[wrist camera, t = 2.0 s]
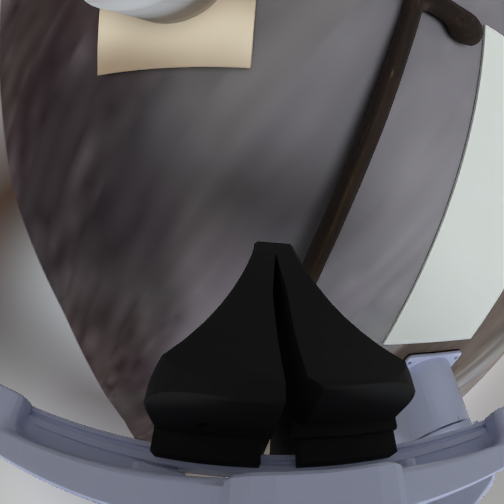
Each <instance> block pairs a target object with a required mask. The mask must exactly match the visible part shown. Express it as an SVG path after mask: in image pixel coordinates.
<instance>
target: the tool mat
mask: <svg viewBox="0 0 504 504" xmlns="http://www.w3.org/2000/svg"><path fill="white" fill-rule="evenodd" d="M503 289H504V36H502V35H501V34H499V33H498V32H496V31H495V30H493V29H492V28H490V27H488V26H487V25H484V33H483V47H482V57H481V66H480V74H479V81H478V87H477V94H476V99H475V105H474V110H473V115H472V120H471V124H470V129H469V133H468V137H467V141H466V145H465V149H464V153H463V156H462V160H461V163H460V167H459V170H458V174H457V177H456V180H455V183H454V186H453V190H452V193H451V196H450V198H449V201H448V204H447V207H446V210H445V213H444V215H443V218H442V221H441V223H440V226H439V229H438V231H437V234H436V236H435V239H434V241H433V243H432V246H431V248H430V251H429V253H428V255H427V258H426V260H425V262H424V264H423V267H422V269H421V271H420V273H419V275H418V277H417V280H416V282H415V284H414V286H413V288H412V290H411V292H410V294H409V296H408V298H407V300H406V302H405V304H404V306H403V308H402V310H401V311H400V313H399V315H398V317H397V319H396V321H395V323H394V324H393V326H392V328H391V330H390V332H389V333H388V335H387V337H386V339H385V340H384V342H383V345H389V344H411V343H427V342H440V341H451V340H462V339H470V338H471V337H472V336H473V334H474V333H475V332H476V330H477V329H478V327H479V326H480V325H481V323H482V322H483V320H484V319H485V317H486V316H487V314H488V313H489V311H490V310H491V308H492V307H493V305H494V304H495V302H496V300H497V299H498V297H499V296H500V294H501V292H502V291H503Z"/></svg>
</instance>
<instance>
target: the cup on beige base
mask: <svg viewBox="0 0 504 504" xmlns="http://www.w3.org/2000/svg"><path fill="white" fill-rule="evenodd" d="M84 1H86V2H87V3H89V4H90V5H92V6H95V7H97V8H100V15H99V31H98V75H102V74H109V73H116V72H124V71H133V70H143V69H156V68H173V67H238V68H251V65H252V53H253V41H254V29H255V17H256V5H257V0H84Z"/></svg>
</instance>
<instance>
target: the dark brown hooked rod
mask: <svg viewBox="0 0 504 504" xmlns="http://www.w3.org/2000/svg"><path fill="white" fill-rule="evenodd" d="M424 11H427V12H429V13H431V14H433V15H435V16H436V17H438V18H439V19H441V20H442V21H443V22H445V24H446V26H447V28H448V31H449V32H450V34H451V35H452V36H453V38H454V39H455V40H457V41H458V42H460V43H462V44H465V45H469V46H473V45H476V44H477V43H478V42H480V40H481V38H482V35H483V29H482V25H481V23H480V22H479V20H478V19H477V18H476V17H475V16H474V15H473V14H472V13H470V12H469V11H467V10H466V9H464V8H463V7H461V6H459V5H458V4H456V3H455V2H453V1H452V0H405V1H404V5H403V9H402V13H401V16H400V19H399V22H398V25H397V28H396V31H395V34H394V37H393V40H392V43H391V46H390V49H389V52H388V55H387V57H386V60H385V64H384V66H383V69H382V72H381V75H380V78H379V80H378V83H377V86H376V88H375V91H374V94H373V96H372V98H371V102H370V104H369V107H368V110H367V112H366V115H365V117H364V120H363V122H362V125H361V127H360V130H359V132H358V135H357V137H356V139H355V142H354V145H353V147H352V149H351V152H350V154H349V157H348V159H347V162H346V164H345V166H344V169H343V171H342V174H341V176H340V178H339V181H338V183H337V186H336V188H335V190H334V193H333V195H332V198H331V200H330V202H329V205H328V207H327V209H326V211H325V214H324V216H323V218H322V221H321V223H320V225H319V227H318V229H317V232H316V234H315V236H314V238H313V241H312V243H311V245H310V248H309V250H308V252H307V255H306V257H305V259H304V262H303V266H304V268H305V269H306V271H307V272H308V274H309V275H310V276H311V278H312V279H313V281H314V282H315V284H316V283H317V281H318V278H319V276H320V274H321V272H322V270H323V268H324V266H325V263H326V261H327V259H328V257H329V255H330V253H331V250H332V248H333V246H334V244H335V242H336V240H337V237H338V235H339V233H340V231H341V229H342V226H343V224H344V222H345V220H346V217H347V215H348V213H349V210H350V208H351V206H352V204H353V201H354V199H355V196H356V194H357V192H358V189H359V187H360V185H361V182H362V180H363V178H364V175H365V173H366V170H367V168H368V166H369V163H370V161H371V158H372V156H373V153H374V151H375V148H376V146H377V144H378V141H379V139H380V136H381V134H382V131H383V128H384V126H385V123H386V120H387V118H388V115H389V112H390V110H391V107H392V104H393V101H394V98H395V95H396V92H397V89H398V87H399V84H400V81H401V78H402V75H403V72H404V69H405V66H406V62H407V59H408V56H409V53H410V50H411V47H412V44H413V41H414V38H415V34H416V31H417V28H418V24H419V21H420V17H421V14H422V12H424Z"/></svg>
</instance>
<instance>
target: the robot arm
mask: <svg viewBox="0 0 504 504" xmlns="http://www.w3.org/2000/svg"><path fill="white" fill-rule="evenodd" d="M460 355H461V351H460V350H458V351H450V352H440V353H430V354H419V355H411V356H409V357H407V359H406V360H405V361H403V360H402V359H400V358H398V357H397V356H395V355H394V354H392V353H390V352H389V351H387V350H386V349H384V348H382V347H381V346H380V345H378V344H377V343H375V342H374V341H373V340H371V339H370V338H369V337H367V336H366V335H365V334H364V333H362V332H361V331H360V330H359V329H358V328H356V327H355V326H354V325H353V324H352V323H351V322H350V321H348V320H347V319H346V318H345V317H344V316H343V315H342V314H341V313H340V312H339V311H338V310H337V309H336V308H335V307H334V306H333V305H332V303H331V302H330V301H329V300H328V299H327V298H326V296H325V295H324V294H323V293H322V291H321V290H320V289H319V288H318V286H317V285H316V284H315V282H314V281H313V279H312V278H311V276H310V275H309V274H308V272H307V271H306V269H305V268H304V266H303V264H302V263H301V261H300V260H299V258H298V256H297V255H296V253H295V251H294V249H293V247H292V246H291V245H290V244H283V243H270V242H256V243H255V244H254V249H253V252H252V255H251V258H250V260H249V262H248V264H247V266H246V268H245V270H244V272H243V274H242V275H241V277H240V278H239V280H238V282H237V283H236V285H235V286H234V288H233V289H232V291H231V292H230V293H229V295H228V296H227V297H226V299H225V300H224V301H223V302H222V304H221V305H220V306H219V307H218V308H217V309H216V310H215V311H214V313H213V314H212V315H211V316H210V317H209V318H208V319H207V320H206V321H205V322H204V323H203V324H202V325H201V326H199V327H198V328H197V329H196V330H195V331H194V332H193V333H191V334H190V335H189V336H188V337H187V338H185V339H184V340H183V341H182V342H180V343H179V344H177V345H176V346H175V347H173V348H172V349H170V350H169V351H168V352H166V353H165V354H163V355H162V357H161V358H160V360H159V362H158V364H157V365H156V367H155V369H154V371H153V374H152V376H151V378H150V381H149V384H148V387H147V391H146V395H145V399H144V408H145V410H146V412H147V414H148V416H149V417H150V419H151V421H152V423H153V425H154V431H153V436H152V442H147V441H142V440H137V439H133V438H128V437H124V436H120V435H116V434H113V433H109V432H105V431H102V430H98V429H94V428H91V427H88V426H85V425H82V424H79V423H76V422H73V421H70V420H67V419H64V418H61V417H58V416H56V415H53V414H50V413H48V412H45V411H43V410H40V409H38V408H35V407H33V406H32V405H31V403H30V402H29V401H28V400H27V399H26V398H25V397H24V396H22V395H21V394H19V393H18V392H16V391H13V390H11V389H9V388H7V387H5V386H3V385H0V457H1V458H2V459H4V460H5V461H7V462H9V463H10V464H12V465H14V466H16V467H17V468H19V469H21V470H23V471H25V472H27V473H28V474H31V475H32V476H34V477H36V478H38V479H40V480H43V481H45V482H47V483H49V484H51V485H53V486H55V487H57V488H60V489H62V490H64V491H67V492H69V493H71V494H74V495H77V496H79V497H82V498H84V499H87V500H90V501H92V502H95V503H98V504H478V503H479V502H480V500H481V499H482V498H483V497H484V495H485V494H486V493H487V492H488V490H489V489H490V488H491V486H492V485H493V483H494V478H495V476H496V475H495V474H496V473H497V472H499V471H501V470H503V469H504V407H502V408H499V409H497V410H496V411H494V412H493V413H491V414H490V415H489V416H488V417H487V418H485V420H483V421H481V422H478V421H475V422H473V424H472V423H471V421H470V418H469V416H468V413H467V410H466V407H465V404H464V401H463V398H462V396H461V393H460V390H459V387H458V384H457V382H456V379H455V377H454V374H453V371H452V369H451V366H452V365H453V364H454V363H455V361H456V360H457V359H458V358H459V356H460ZM269 439H271V440H270V455H263V454H264V451H265V449H266V447H267V444H268V442H269ZM183 472H185V473H192V474H199V475H208V476H218V477H230V478H217V477H197V476H185V474H184V473H183Z"/></svg>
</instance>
